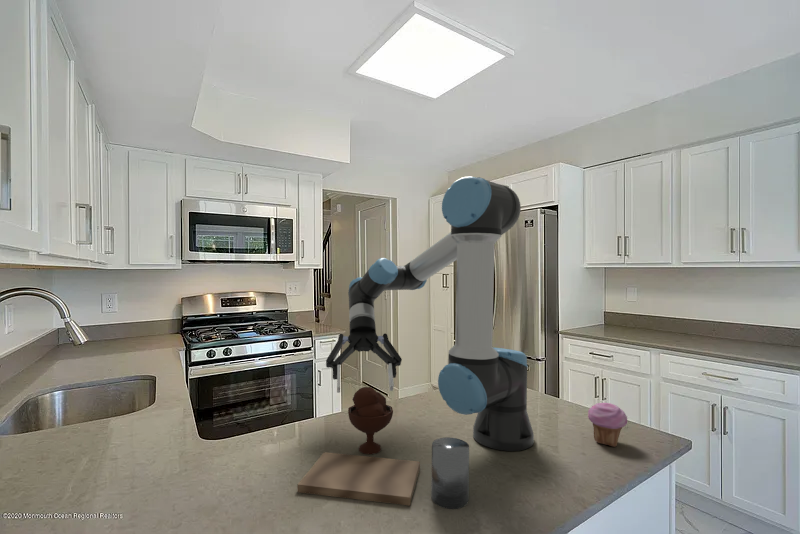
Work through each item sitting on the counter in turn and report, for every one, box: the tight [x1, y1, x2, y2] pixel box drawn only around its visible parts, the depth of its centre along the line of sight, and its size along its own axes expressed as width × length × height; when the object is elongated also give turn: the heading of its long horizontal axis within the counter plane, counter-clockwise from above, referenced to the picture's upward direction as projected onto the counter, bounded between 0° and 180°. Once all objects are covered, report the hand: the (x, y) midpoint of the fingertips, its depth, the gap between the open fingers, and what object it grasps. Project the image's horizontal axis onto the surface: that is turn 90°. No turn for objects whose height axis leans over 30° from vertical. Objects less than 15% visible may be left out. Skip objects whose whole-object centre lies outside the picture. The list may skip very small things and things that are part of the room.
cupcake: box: [587, 402, 628, 448], centre depth 101 cm, size 9×9×10 cm
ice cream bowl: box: [347, 386, 394, 455], centre depth 96 cm, size 11×11×15 cm
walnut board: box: [296, 451, 421, 507], centre depth 82 cm, size 22×14×2 cm, turn 80°
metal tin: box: [430, 436, 470, 510], centre depth 76 cm, size 7×7×10 cm
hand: (365, 389), depth 102 cm, fingers open, 13 cm apart
